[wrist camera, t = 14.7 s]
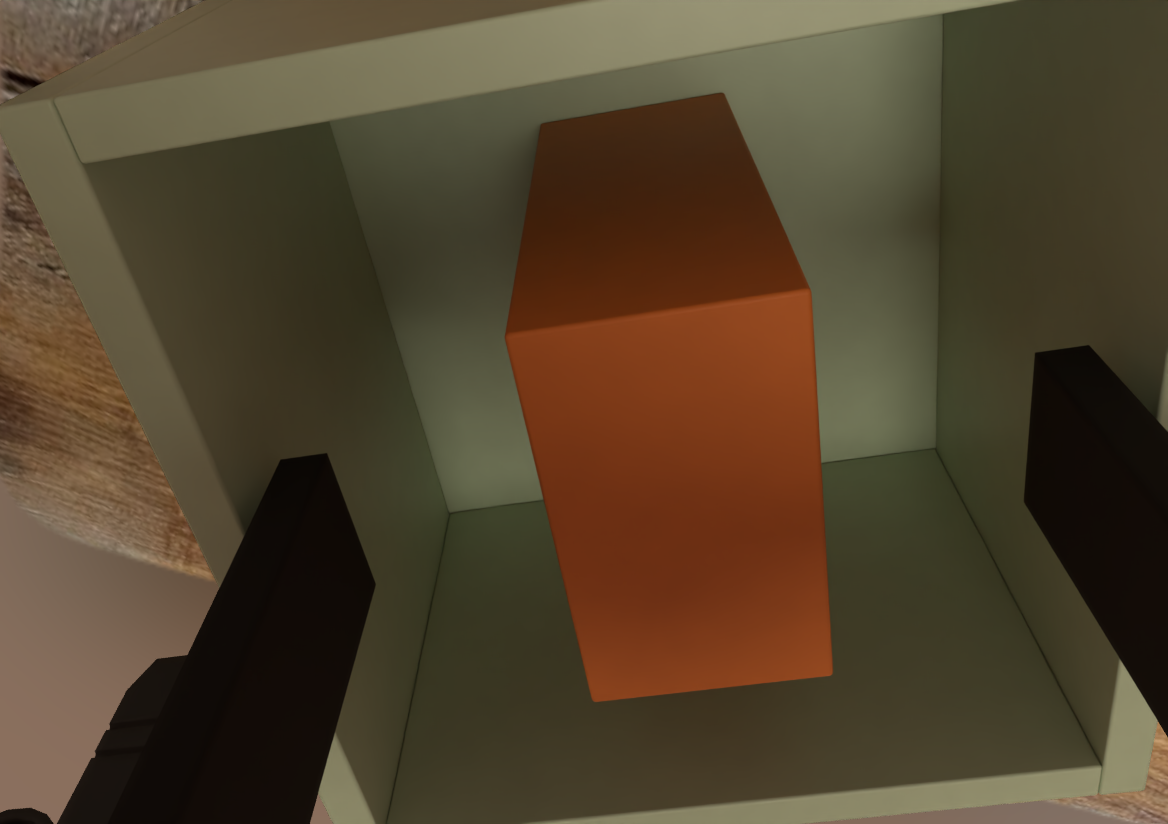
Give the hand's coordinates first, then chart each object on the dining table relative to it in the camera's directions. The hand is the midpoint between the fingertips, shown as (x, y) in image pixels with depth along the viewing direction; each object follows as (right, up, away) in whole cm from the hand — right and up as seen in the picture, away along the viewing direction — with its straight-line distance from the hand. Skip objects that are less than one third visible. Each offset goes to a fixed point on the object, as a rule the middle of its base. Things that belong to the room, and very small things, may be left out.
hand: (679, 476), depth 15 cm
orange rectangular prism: (0, +5, +8) cm, 9 cm away
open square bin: (0, +5, +8) cm, 10 cm away
